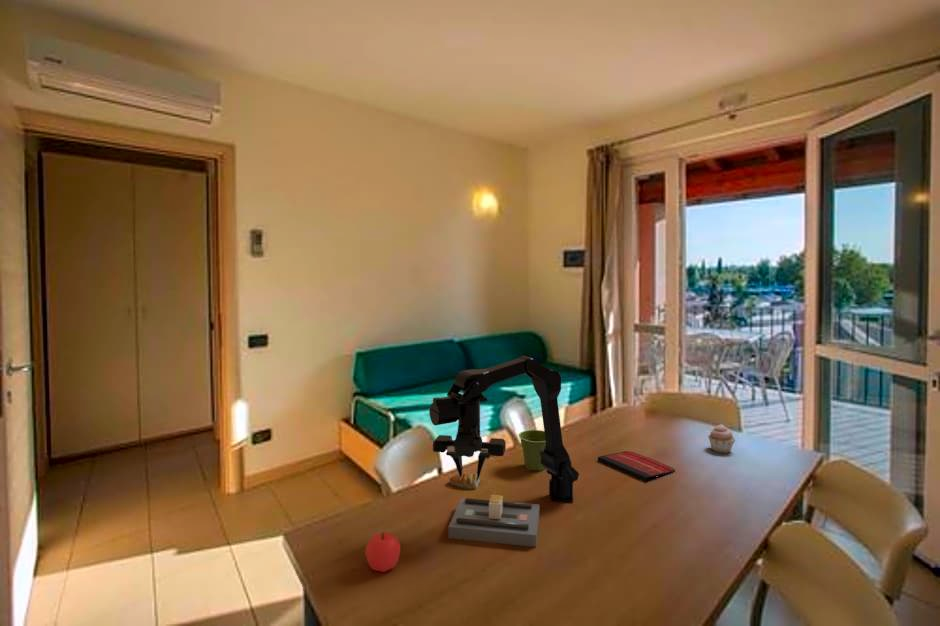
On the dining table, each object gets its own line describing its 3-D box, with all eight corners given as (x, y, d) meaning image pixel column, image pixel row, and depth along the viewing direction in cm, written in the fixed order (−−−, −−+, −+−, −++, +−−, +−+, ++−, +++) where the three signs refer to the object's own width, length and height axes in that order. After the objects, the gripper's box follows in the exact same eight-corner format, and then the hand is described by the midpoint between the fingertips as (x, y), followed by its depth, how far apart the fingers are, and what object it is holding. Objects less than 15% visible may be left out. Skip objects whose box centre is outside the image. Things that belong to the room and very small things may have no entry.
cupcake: (736, 448, 183) (737, 422, 182) (734, 456, 175) (735, 429, 175) (708, 444, 188) (709, 418, 187) (705, 451, 180) (706, 425, 180)
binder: (646, 476, 155) (597, 456, 172) (646, 484, 155) (597, 462, 172) (678, 468, 163) (627, 449, 181) (677, 474, 163) (627, 455, 181)
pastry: (447, 488, 152) (447, 476, 152) (452, 479, 159) (452, 468, 159) (477, 490, 151) (476, 478, 150) (480, 481, 157) (480, 469, 157)
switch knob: (502, 510, 131) (502, 494, 131) (500, 519, 126) (500, 503, 126) (491, 509, 131) (491, 493, 131) (488, 518, 127) (488, 502, 126)
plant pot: (514, 471, 164) (514, 438, 163) (524, 458, 175) (524, 428, 174) (548, 476, 160) (549, 443, 159) (556, 463, 171) (556, 432, 170)
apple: (384, 581, 107) (384, 546, 106) (358, 569, 111) (357, 535, 110) (408, 562, 113) (407, 529, 113) (382, 552, 117) (381, 520, 117)
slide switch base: (539, 514, 135) (539, 500, 134) (535, 546, 119) (535, 530, 119) (461, 508, 139) (461, 493, 139) (448, 538, 123) (448, 522, 123)
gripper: (426, 426, 122) (427, 486, 123) (500, 431, 118) (500, 493, 120) (437, 414, 133) (438, 469, 134) (505, 417, 129) (505, 474, 130)
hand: (469, 476), depth 129 cm, fingers open, 4 cm apart
